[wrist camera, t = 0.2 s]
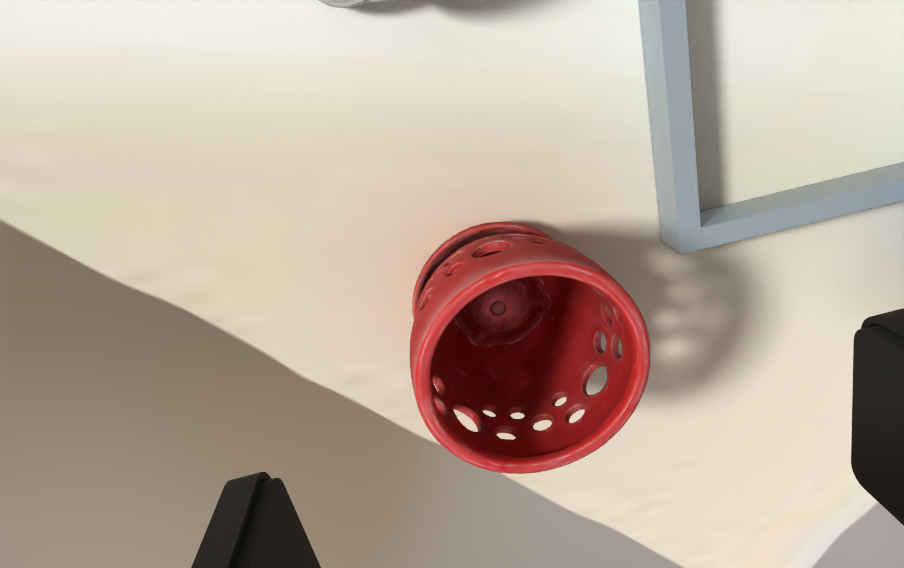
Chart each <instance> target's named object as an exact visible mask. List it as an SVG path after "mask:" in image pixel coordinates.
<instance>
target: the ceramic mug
mask: <svg viewBox="0 0 904 568" xmlns="http://www.w3.org/2000/svg"><path fill="white" fill-rule="evenodd" d="M319 1H321V2H323V3H325V4H327V5H329V6H332V7H339V8H350V7H351V8H352V7H356V6H360V5H362V4H364V3H367V2H369V1H370V0H319ZM392 1H396V0H392Z"/></svg>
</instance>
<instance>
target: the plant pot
mask: <svg viewBox="0 0 904 568" xmlns="http://www.w3.org/2000/svg"><path fill="white" fill-rule="evenodd" d="M609 309H610V311H609ZM610 312H611V315H612V318H611V315H610ZM413 317H414V323H413V327H412V332H411V339H410V368H411V378H412V384H413V389H414V393H415V398H416V401H417V405H418V408H419V411H420V414H421V416H422V418H423V420H424V422H425V424H426V426H427V428H428V429H429V431H430V432H431V433H432V435H433V436H434V437H435V439H436V440H437V441H438V442H439V443H440V444H441V445H442V446H443V447H445V448H446V449H447V450H448V451H449V452H451V453H452V454H453V455H455V456H457V457H458V458H460V459H461V460H463V461H465V462H467V463H469V464H472V465H474V466H477V467H479V468H483V469H486V470H490V471H495V472H500V473H516V474H523V473H536V472H541V471H547V470H551V469H554V468H558V467H561V466H564V465H567V464H570V463H572V462H574V461H577V460H579V459H581V458H583V457H585V456H587V455H589V454H590V453H592V452H594V451H595V450H597V449H598V448H600V447H601V446H603V445H604V444H605V443H606V442H607V441H609V440H610V439H611V438H612V437H613V436H614V435H615V434H616V433H617V432H618V431H619V430H620V429H621V428H622V427H623V426H624V424H625V423H626V422H627V420H628V419H629V418H630V416H631V415H632V413H633V412H634V410H635V409H636V407H637V405H638V403H639V401H640V399H641V397H642V395H643V392H644V390H645V387H646V384H647V380H648V375H649V368H650V341H649V335H648V331H647V327H646V324H645V321H644V319H643V317H642V314H641V313H640V311H639V309H638V307H637V305H636V304H635V302H634V301H633V299H632V298H631V297H630V295H629V294H628V293H627V292H626V291H625V290H624V288H623V287H622V286H621V285H620V284H618V282H617V281H616V280H615V279H614V278H613V277H612V276H611V275H609V274H608V273H607V272H606V271H605V270H604V269H603V268H601V267H600V266H599V265H598V264H596V263H595V262H594V261H592V260H591V259H589V258H587V257H586V256H584V255H583V254H581V253H580V252H578V251H577V250H575V249H573V248H571V247H569V246H567V245H565V244H563V243H560V242H557V241H554V240H553V239H552V238H550V237H549V236H547V235H546V234H544V233H542V232H541V231H539V230H537V229H534V228H532V227H529V226H526V225H522V224H518V223H511V222H492V223H484V224H480V225H476V226H473V227H470V228H468V229H466V230H463V231H461V232H459V233H458V234H456V235H454V236H452V237H451V238H450V239H448V240H447V241H445V242H444V243H443V244H442V245H441V246H440V247H439V248H438V249H437V250H436V251H435V252H434V253H433V254H432V255H431V257H430V258H429V259H428V261H427V262H426V264H425V265H424V267H423V269H422V271H421V273H420V275H419V277H418V280H417V282H416V285H415V289H414V294H413ZM602 333H604V335H605V337H606V341H607V343H606V348H605V351H603V350H602V348H601V343H600V341H601V336H602ZM619 338H620V341H621V343H622V355H620V353H619V350H618V343H619ZM601 366H605V367H606V369H607V381H606V384H605V386H604V387H603V389H602V390H601V391H600V392H598V393H596V394H594V395H588V394H587V392H586V385H587V381H588V379H589V377H590V375H591V374H592V373H593V372H594V371H595V370H596V369H597V368H598V367H601ZM433 383H434V384H435V386H436V387H437V389H438V391H437V390H436V388H435V386H434V384H433ZM562 397H567V400H566V402H565V403H564V404H562V405H561V406H555V403H556V401H557V400H558V399H560V398H562ZM453 409H455V410H458V411H460V412H462V413H464V414H465V415H467V416H468V417H469V418H471V420H472V421H473V422H474V423H475V424H476V426H477V428H478V432H473V431H470V430H468V429H467V428H466V427H465V426H463V425H462V423H461V422H460V421H459V420H458V418H457V416H456V415H455V413H454V410H453ZM582 409H585V413H584V415H583V416H582V418H580V419H579V420H578V421H576V422H574V423H569V419H570V417H571V415H572V414H574V413H575V412H576V411H579V410H582ZM483 410H487V411H491V412H493V413H494V414H495V415H496V416H495V417H490V416H488V415H486V414H484V413H483ZM517 412H520V413H523V414H524V415H525V417H524V418H522V419H513V418H512V417H511V416H510V415H511V414H512V413H517ZM542 420H550V421H552V425H551V426H550V427H549V428H547V429H546V430H542V431H538V430H535V429H533V425H534V424H535V423H536V422H539V421H542ZM498 433H509V434H512V435H514V436H515V437H516V439H514V440H507V439H501V438H499V437H498V436H497V435H496V434H498Z"/></svg>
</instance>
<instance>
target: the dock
mask: <svg viewBox="0 0 904 568" xmlns="http://www.w3.org/2000/svg"><path fill="white" fill-rule="evenodd" d="M638 2H639V12H640V23H641V33H642V44H643V54H644V65H645V75H646V86H647V96H648V107H649V117H650V128H651V138H652V149H653V159H654V170H655V180H656V191H657V201H658V212H659V222H660V233H661V241H662V242H663V243H664V244H666V245H667V246H669V247H670V248H671V249H673V250H674V251H676V252H677V253H679V254H680V255H681V254H685V253H689V252H693V251H697V250H701V249H705V248H710V247H714V246H718V245H722V244H726V243H730V242H734V241H738V240H743V239H747V238H751V237H755V236H759V235H763V234H767V233H771V232H776V231H780V230H784V229H788V228H792V227H796V226H800V225H804V224H808V223H813V222H817V221H821V220H825V219H829V218H833V217H837V216H841V215H846V214H850V213H854V212H858V211H862V210H866V209H870V208H874V207H879V206H883V205H887V204H891V203H895V202H899V201H903V200H904V162H902V163H898V164H894V165H890V166H885V167H881V168H877V169H873V170H869V171H865V172H861V173H857V174H852V175H848V176H844V177H840V178H836V179H832V180H828V181H824V182H820V183H815V184H811V185H807V186H803V187H799V188H795V189H791V190H787V191H782V192H778V193H774V194H770V195H766V196H762V197H758V198H754V199H750V200H745V201H741V202H737V203H733V204H729V205H725V206H721V207H717V208H712V209H708V210H704V211H700V209H699V195H698V180H697V165H696V150H695V136H694V121H693V106H692V92H691V77H690V62H689V47H688V33H687V18H686V3H685V0H638Z"/></svg>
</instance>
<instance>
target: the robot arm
mask: <svg viewBox="0 0 904 568" xmlns="http://www.w3.org/2000/svg"><path fill="white" fill-rule="evenodd" d="M851 465H852V469H853V473H854V475H855V477H856V479H857V480H858V482H859V483H860V485H861V486H862V487H863V488H864V489H865V490H866V491H867V492H868V493H869V494H871V495H872V496H873V497H874V498H875V499H876V500H877V501H878V502H879V503H880V504H881V505H882V506H883V507H884V508H886V509H887V510H888V511H889V512H890V513H891V514H892V515H893V516H894V517H895V518H896V519H897V520H898V521H900V522H901V523H902V524H903V525H904V309H899V310H895V311H891V312H887V313H883V314H880V315H876V316H872V317H869V318H867V319H865V320H864V322H863V324H862V327H861V329H860V330H858V331H857V332H856V333H855V336H854V356H853V403H852V450H851ZM192 568H321V567H320V565H319V562H318V560H317V558H316V556H315V554H314V551H313V549H312V547H311V544H310V542H309V540H308V538H307V535H306V533H305V531H304V529H303V526H302V524H301V522H300V520H299V517H298V515H297V513H296V510H295V508H294V506H293V504H292V501H291V499H290V497H289V495H288V493H287V490H286V488H285V486H284V484H283V482H282V480H281V479H280V478H274V479H271V478H270V476H269V475H268V474H267V473H266V472H260V473H256V474H252V475H248V476H244V477H240V478H237V479H233V480H230V481H228V482H227V483H226V485H225V486H224V489H223V491H222V494H221V496H220V498H219V501H218V503H217V506H216V509H215V511H214V513H213V516H212V518H211V521H210V523H209V526H208V528H207V530H206V533H205V535H204V538H203V541H202V543H201V545H200V548H199V550H198V553H197V555H196V558H195V560H194V562H193V565H192Z"/></svg>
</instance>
